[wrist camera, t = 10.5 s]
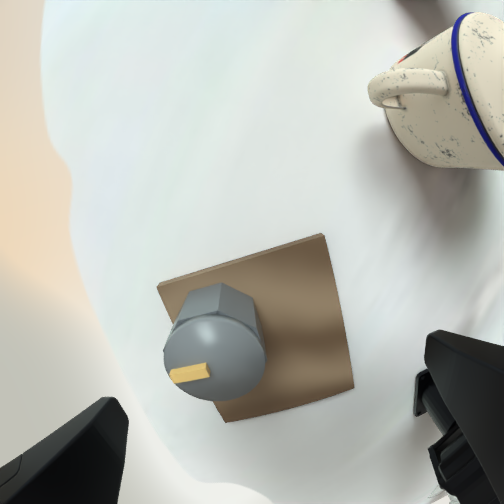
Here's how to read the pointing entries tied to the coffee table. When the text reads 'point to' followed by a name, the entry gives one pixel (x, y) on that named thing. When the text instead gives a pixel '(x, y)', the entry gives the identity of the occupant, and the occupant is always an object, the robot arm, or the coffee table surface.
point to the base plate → (283, 324)
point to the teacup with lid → (450, 96)
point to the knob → (216, 344)
